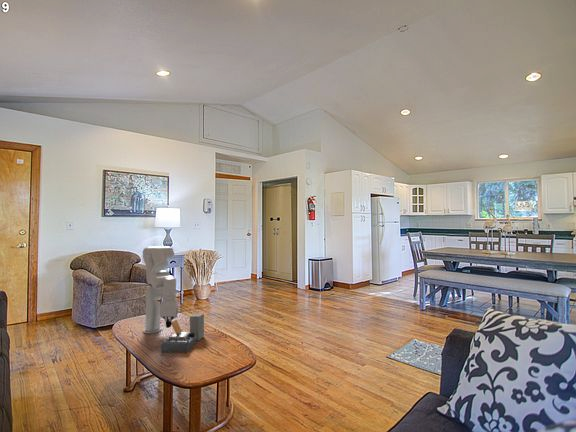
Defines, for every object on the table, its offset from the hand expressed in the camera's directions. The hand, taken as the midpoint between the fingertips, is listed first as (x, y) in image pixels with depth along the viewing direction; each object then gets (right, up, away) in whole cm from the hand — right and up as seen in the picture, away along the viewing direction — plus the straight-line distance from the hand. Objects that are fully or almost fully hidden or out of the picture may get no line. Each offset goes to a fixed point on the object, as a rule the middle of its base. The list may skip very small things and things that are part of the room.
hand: (168, 327), depth 189 cm
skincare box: (+13, -13, +14) cm, 24 cm away
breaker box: (+7, -12, -1) cm, 14 cm away
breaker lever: (+7, -4, 0) cm, 8 cm away
